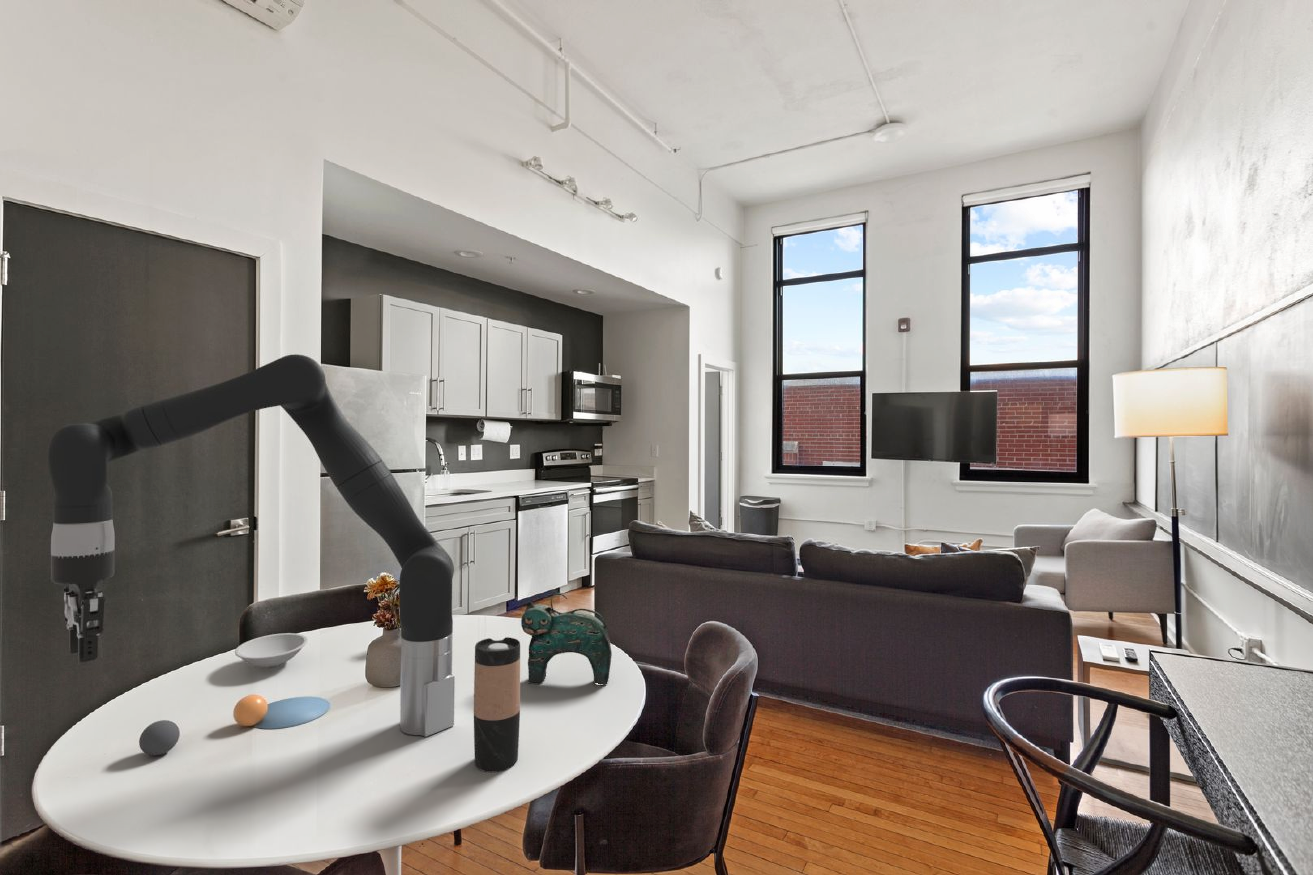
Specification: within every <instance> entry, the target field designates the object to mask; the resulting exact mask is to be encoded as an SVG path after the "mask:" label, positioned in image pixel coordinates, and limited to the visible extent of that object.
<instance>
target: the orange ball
mask: <svg viewBox="0 0 1313 875" xmlns="http://www.w3.org/2000/svg"><path fill="white" fill-rule="evenodd" d="M267 704H268V702H267V700H266V699H265V697H263V696H261V695H259V694H249V695H246V696H244V697H242V698H241V699H239V700H238V701H237V703H236V704H235V706H234V708H233V714H232V716H233V718H234V721H235V722H236V723H237V725H240V726H242V727H254V726H253V725H255V724H257V723H259V722H260V721H261V720H262V719H263V718H264V717H265V715H266V713H267V710H268V705H267Z"/></svg>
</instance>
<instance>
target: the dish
mask: <svg viewBox="0 0 1313 875" xmlns="http://www.w3.org/2000/svg"><path fill="white" fill-rule="evenodd" d="M308 640H309V639H308V638H307V636H306V635H303V634H301V633H295V632H293V633H292V632H286V633H276V634H275V633H274V634H268V635H264V636H259V637H256V638H253V639H251V640H248V641H245V642H243V643H241V644H240V645H238V647H236V649H235V650H234V654H235V656H236V657H238V658H239V659H241V660H242V661H244V662H245V663H247V665H251V666H253V667H258V668H275V667H276V666H279V665H282V664H285V663H287V662H288V661H290V660H291V659H293V658H294V657H295V656H296V655H297V654H298V653H299V652H300V651H301V650H302V648H304V647H305V646H306V645H307V643H308Z"/></svg>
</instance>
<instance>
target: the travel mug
mask: <svg viewBox="0 0 1313 875" xmlns="http://www.w3.org/2000/svg"><path fill="white" fill-rule="evenodd" d="M473 676H474V679H473V680H474V681H473V684H474V686H473V739H474V741H473V743H474V745H473V746H474V752H473V753H474V765H475V767H476V768H477V769H478V770H480V771H482V770H484V771H483V772H487V771H488V773H493V772H492V771H497V772H501V771H500V770H502V771H506V770H508V769H510V768H512V767H514V766H515V765H516V764H517V762H518V759H519V746H520V744H519V741H520V739H519V738H520V719H521V718H520V716H521V642H520V641H519V639H517V638H514V637H510V636H509V637H508V636H507V637H504V638H503V639H499V640H494V639H492V638H485V639H482V640H480V641H478V642H476V644H475V646H474V673H473ZM515 763H516V764H515ZM514 764H515V765H514ZM511 766H512V767H511ZM507 768H508V769H507ZM505 769H506V770H505ZM489 771H490V772H489Z"/></svg>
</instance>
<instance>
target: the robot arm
mask: <svg viewBox="0 0 1313 875" xmlns="http://www.w3.org/2000/svg"><path fill="white" fill-rule="evenodd" d="M326 381H327V380H326V375H325V372H324V369H323V368H322V366H321V365H320V364H319V362H317V361H316V360H315V359H313V358H311V357H309V356H307V355H303V354H287V355H285V356H282V357H280V358H277V359H275V360H273V361H271V362H269V363H266V364H264V365H263V366H260V367H258V368H256V369H253V370H252V371H249V372H246V373H244V374H241V375H238V376H236V377H234V378H230V379H228V380H226V381H222V382H220V383H216V384H213V385H210V386H209V385H208V386H206V387H203V388H200V389H197V390H196V389H195V390H193V391H189V392H186V393H182V394H179V395H175V396H171V397H168V398H164V399H160V400H156V401H153V402H150V403H147V404H143V405H139V406H136V407H134V408H131V409H129V410H127V411H125V412H124V413H121V414H118V415H114V416H110V417H105V418H102V419H98V420H94V421H90V422H85V423H71V424H67V425H64V426H62V427H61V428H58V429H57V430H56V431H55V432H54V433H52V435H51V437H50V439H49V442H48V447H47V463H48V464H47V465H48V468H49V469H48V470H49V475H50V480H51V485H52V489H53V494H54V495H53V496H54V497H53V504H52V505H53V509H52V510H53V524H52V525H53V526H52V530H51V536H50V580H51V582H52V583H54V584H57V585H64V586H63V588H62V591H63V602H64V605H63V606H64V618H63V622H65V624H66V628H67V630H68V651H69V652H70V653H71V654H77V660H78V662H80V663H87V662H90V661H95V660H97V659H98V657H99V656H98V653H99V652H98V651H99V649H98V648H99V645H98V644H99V641H98V640H99V638H98V637H99V636H100V634H103V631H104V616H105V615H104V614H105V613H104V612H105V611H104V610H105V602H106V599H105V597H104V595H103V590H99V586H98V583H99V582H100V581H102V580H103V581H105V580H108V579H110V578H112V577H113V576H114V575H115V550H116V549H115V546H116V545H115V539H116V538H115V528H114V523H113V521H114V519H113V518H114V517H113V515H114V514H113V512H114V511H113V506H114V505H113V504H114V501H113V492H112V491H113V490H112V489H111V487H110V486H109V485H108V473H107V472H108V471H107V470H108V469H107V466H108V465H107V463H110V462H113V461H115V460H118V459H121V458H124V457H127V456H129V455H132V454H135V453H137V452H140V451H142V450H148V449H152V448H157V447H160V446H165V445H167V444H171V443H174V442H177V441H180V440H183V439H187V438H189V437H192V436H195V435H197V434H201V433H203V432H205V431H208V430H210V429H212V428H214V427H217V426H218V425H221V424H223V423H225V422H227V421H230V420H232V419H234V418H236V417H239V416H243V415H245V414H249V413H252V412H255V411H259V410H263V409H268V408H274V407H281V408H282V409H283V410H284V411H285V412H286V414H288V416H289V417H290V418H291V419H292V420H293V421H294V423H295V424H296V425H297V426H298V427H299V429H301V431H302V432H303V434H305V436H306V438H307V439H308V440H309V441H310V443H311V446H312V447H313V449H314V451H315V453H316V455H317V457H318V458H319V461H320V462H321V464H322V466H323V468H324V470H325V471H326V474H327V475H328V477H329V478H330V480H331V481H332V483H333V485H334V487H335V488H336V489H337V491H338V492H339V493H340V495H341V496H342V497H343V499H344V501H346V503H347V504H348V507H350V508H351V509H352V511H353V512H354V513H355V514H356V515H357V516H358V517H359V518H360V519H361V520H362V521H363V522H364V523H366V525H367V526H369V527H370V528H371V529H372V530H373V531H374V532H376V533H377V535H379V537H380V538H382V539H383V541H385V543H386V544H387V546H388V547H389V549H390V550H391V552H392V553H393V555H394V557H395V558H396V561H397V562H398V564H399V566H400V567H401V570H400V573H399V584H398V592H399V594H398V595H399V596H398V597H399V598H398V603H399V605H398V608H399V619H400V625H401V649H400V687H399V688H400V692H399V694H400V698H399V699H400V700H399V703H400V704H399V706H400V707H399V709H400V710H399V714H400V716H399V717H400V718H399V719H400V721H399V727H400V728H399V729H400V731H401V732H403V733H404V734H408V735H413V736H422V737H429V736H432V735H434V734H436V733H439V732H441V731H443V730H444V731H445V730H446V729H448V728H451V727H453V726H455V676H454V675H453V629H454V627H453V626H454V625H453V624H454V621H453V620H454V619H453V579H454V578H453V577H454V573H455V566H454V562H453V559H452V557H451V556H450V555H449V553H448V552H447V551H446V550H445V549H444V547H442V546H441V544H440V543H439V542H438V541H437V540H436V538H435V537H434V535H432V533H431V532H430V531H429V530H428V529H427V528H426V527H425V526H424V524H423V523H422V521H421V520H420V518H419V517H418V516H417V513H416V512H415V510H414V509H413V507H412V505H411V503H410V501H409V500H408V498H407V496H406V495H405V493H404V491H403V490H402V488H401V486H400V485H399V483H398V481H397V480H396V478H395V476H394V475H393V474H392V472H391V470H390V469H389V468H388V466H387V465H386V464H385V462H384V461H383V459H382V457H380V455H379V454H378V452H377V451H376V450H375V449H374V448H373V447H372V445H371V444H370V443H369V441H368V440H366V439H365V438H364V436H362V435H361V434H360V432H359V431H357V430H356V428H354V427H353V426H352V425H351V423H350V422H349V421H348V420H347V418H346V416H344V414H343V413H342V411H341V409H340V408H339V406H338V404H337V402H336V401H335V399H334V397H333V395H332V394H331V391H330V390H329V387H328V385H327V383H326ZM65 585H66V586H65ZM90 622H91V623H93V626H90V627H89V625H90Z"/></svg>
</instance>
